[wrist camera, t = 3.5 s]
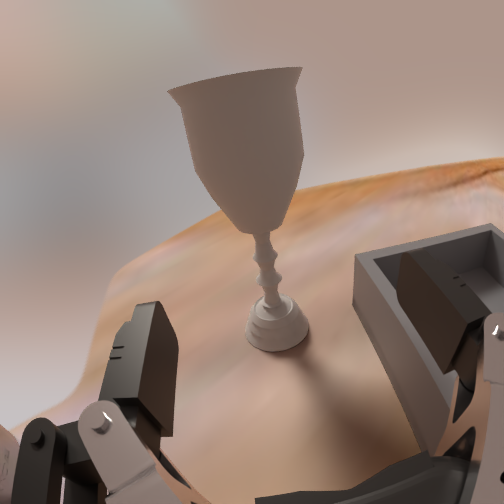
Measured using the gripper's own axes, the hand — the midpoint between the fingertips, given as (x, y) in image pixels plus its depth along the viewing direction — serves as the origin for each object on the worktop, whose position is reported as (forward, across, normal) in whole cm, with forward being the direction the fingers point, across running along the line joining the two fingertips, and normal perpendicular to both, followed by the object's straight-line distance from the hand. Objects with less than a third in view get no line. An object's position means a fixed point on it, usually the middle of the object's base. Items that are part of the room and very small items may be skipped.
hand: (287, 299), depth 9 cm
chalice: (+10, 0, +11) cm, 15 cm away
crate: (+3, -14, +11) cm, 18 cm away
